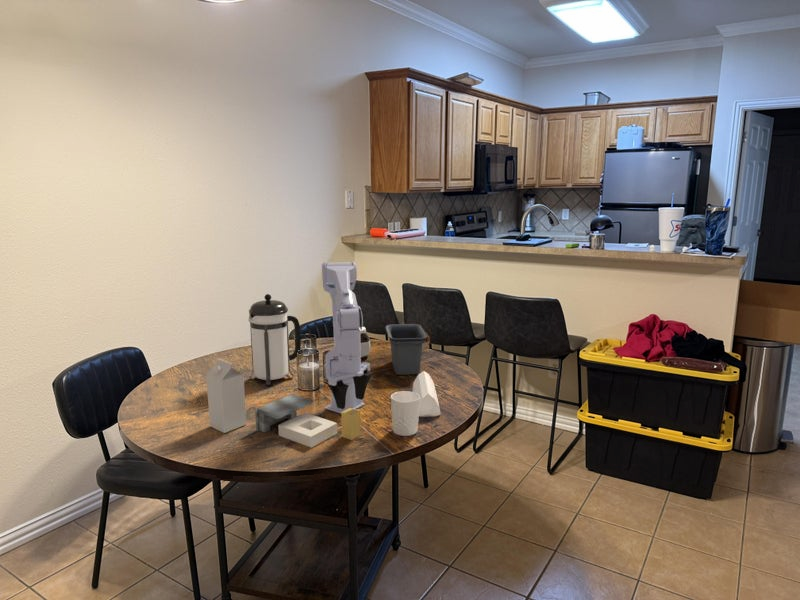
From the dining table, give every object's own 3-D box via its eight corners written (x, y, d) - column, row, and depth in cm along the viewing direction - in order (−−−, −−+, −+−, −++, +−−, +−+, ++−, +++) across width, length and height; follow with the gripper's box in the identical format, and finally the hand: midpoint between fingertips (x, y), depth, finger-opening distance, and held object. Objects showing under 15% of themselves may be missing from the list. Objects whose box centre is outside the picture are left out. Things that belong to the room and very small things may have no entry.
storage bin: (384, 359, 209) (384, 323, 206) (424, 358, 210) (424, 322, 207) (389, 378, 188) (389, 339, 185) (433, 376, 190) (434, 337, 187)
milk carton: (232, 418, 155) (227, 355, 151) (246, 425, 151) (242, 360, 147) (209, 426, 150) (204, 361, 146) (224, 433, 146) (219, 366, 142)
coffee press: (291, 387, 180) (288, 298, 174) (244, 386, 180) (238, 298, 174) (302, 369, 197) (299, 288, 190) (258, 369, 197) (254, 288, 191)
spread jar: (370, 354, 216) (369, 325, 213) (370, 363, 205) (370, 333, 202) (339, 354, 215) (339, 326, 212) (338, 363, 204) (337, 333, 201)
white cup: (418, 424, 152) (418, 390, 150) (420, 437, 144) (420, 401, 142) (390, 424, 151) (390, 391, 149) (391, 437, 144) (391, 402, 142)
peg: (350, 432, 147) (350, 407, 145) (360, 435, 145) (360, 410, 143) (341, 436, 144) (341, 412, 143) (351, 440, 142) (351, 415, 141)
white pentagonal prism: (448, 406, 155) (440, 377, 178) (426, 395, 154) (421, 367, 177) (434, 427, 156) (428, 396, 179) (413, 416, 155) (410, 386, 178)
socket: (305, 422, 153) (305, 412, 152) (337, 433, 146) (337, 423, 145) (278, 435, 145) (278, 425, 144) (311, 447, 138) (310, 436, 137)
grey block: (291, 414, 158) (290, 393, 157) (313, 421, 153) (312, 400, 152) (256, 430, 148) (254, 407, 146) (278, 439, 143) (277, 415, 141)
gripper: (342, 364, 132) (343, 416, 134) (379, 349, 143) (379, 397, 146) (321, 358, 136) (323, 409, 138) (358, 345, 147) (359, 392, 150)
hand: (350, 403), depth 142 cm, fingers open, 7 cm apart
